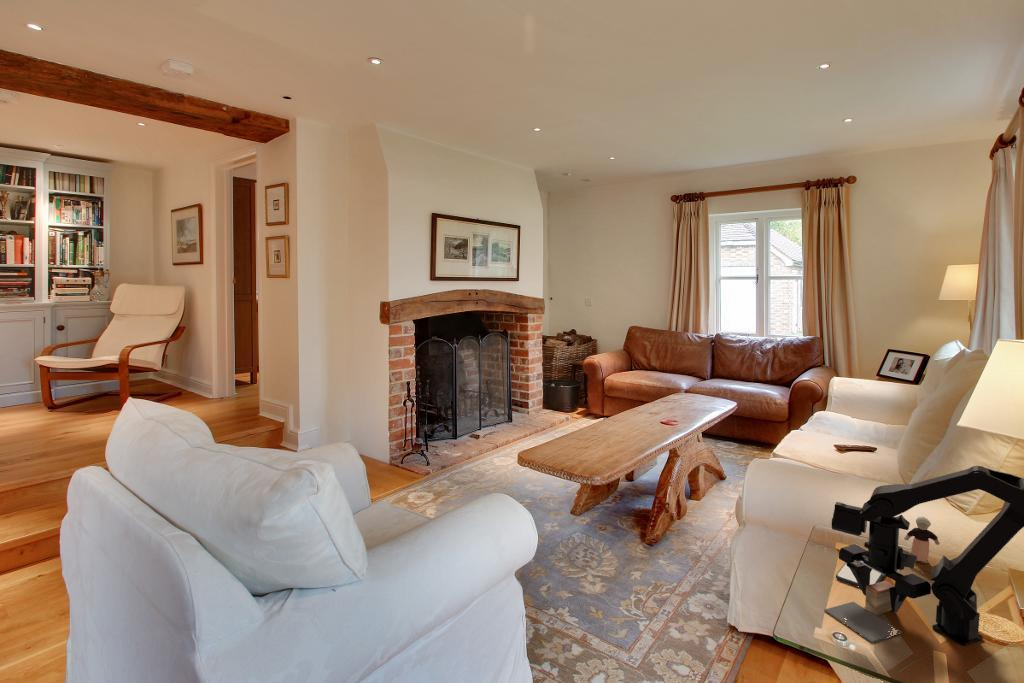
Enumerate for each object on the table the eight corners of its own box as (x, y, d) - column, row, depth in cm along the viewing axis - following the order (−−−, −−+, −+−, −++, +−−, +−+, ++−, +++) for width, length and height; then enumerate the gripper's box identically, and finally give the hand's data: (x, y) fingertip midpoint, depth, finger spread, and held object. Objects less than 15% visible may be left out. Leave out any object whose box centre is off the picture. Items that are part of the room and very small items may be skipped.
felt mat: (902, 633, 119) (902, 632, 119) (871, 643, 116) (871, 641, 116) (853, 603, 130) (853, 601, 130) (824, 611, 127) (824, 609, 127)
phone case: (873, 595, 134) (890, 569, 145) (873, 589, 134) (890, 563, 145) (833, 581, 141) (852, 557, 151) (834, 575, 140) (852, 552, 151)
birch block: (894, 610, 127) (895, 586, 126) (875, 615, 125) (876, 591, 124) (883, 604, 129) (885, 580, 129) (865, 609, 128) (866, 585, 127)
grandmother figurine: (907, 562, 147) (910, 518, 145) (902, 555, 151) (904, 512, 149) (940, 566, 145) (943, 521, 143) (934, 559, 148) (937, 515, 147)
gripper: (950, 553, 119) (946, 619, 121) (871, 518, 136) (868, 576, 138) (914, 563, 115) (910, 630, 117) (838, 526, 133) (835, 585, 135)
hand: (880, 603), depth 127 cm, fingers open, 7 cm apart
